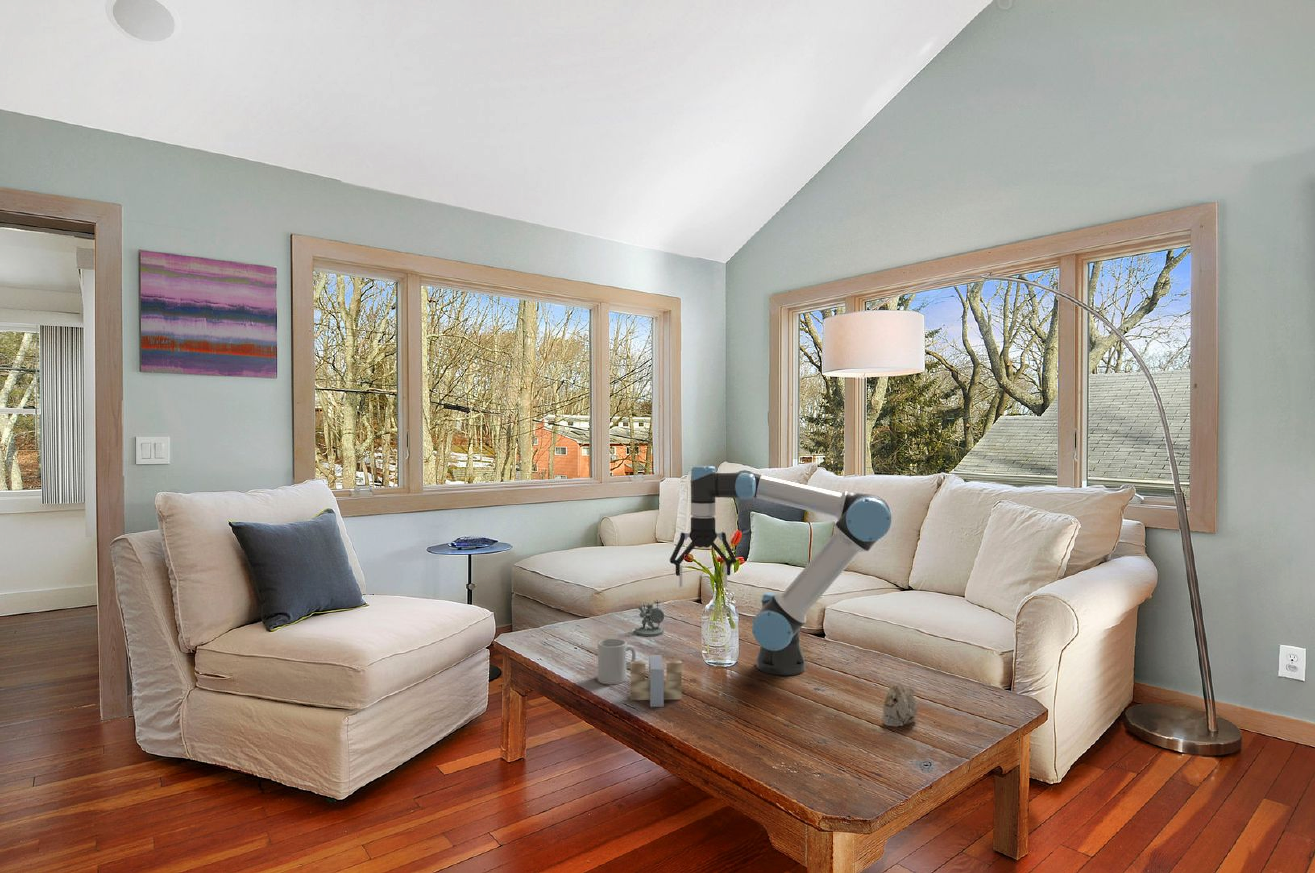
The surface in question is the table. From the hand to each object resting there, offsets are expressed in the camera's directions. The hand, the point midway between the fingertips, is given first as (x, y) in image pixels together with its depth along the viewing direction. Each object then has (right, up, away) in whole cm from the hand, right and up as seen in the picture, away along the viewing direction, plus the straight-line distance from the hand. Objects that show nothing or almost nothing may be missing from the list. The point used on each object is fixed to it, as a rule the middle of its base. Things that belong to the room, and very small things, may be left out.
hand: (702, 586), depth 210 cm
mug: (-26, -27, -4) cm, 38 cm away
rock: (+49, -27, -34) cm, 65 cm away
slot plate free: (-14, -27, -19) cm, 36 cm away
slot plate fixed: (-14, -27, -20) cm, 36 cm away
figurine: (-17, -27, +44) cm, 55 cm away
